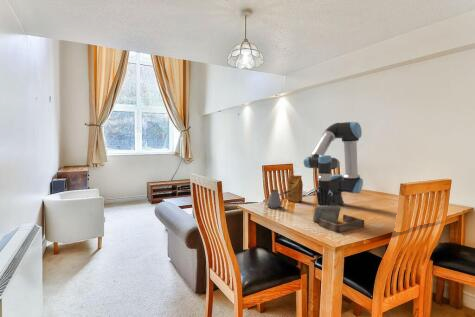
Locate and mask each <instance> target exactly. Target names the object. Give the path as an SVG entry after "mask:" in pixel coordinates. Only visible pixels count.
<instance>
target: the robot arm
mask: <svg viewBox="0 0 475 317" xmlns="http://www.w3.org/2000/svg"><path fill="white" fill-rule="evenodd" d="M362 132H363V131H362V126H361V124H360V123H359V122H357V121H346V122H335V123H333V124H331V125H329V126H328V127H327V128H326V129H325V130H324V131H323V133H322V136H321V139H320V140H319V142H318V144H316V147H315V148H314V150H312V153H311V154H310V156H306V157H305V158H304V159H303V166H304V167H305V168H307V169H317V172H318V175H317V179H318V180H317V185H318V188H317V189H315V190H314V191H315V193H316V200H317V206H344V204H345V203H344V199H343V195H342V194H343V193H350V194H360V193H361V192H362V189H363V186H364V179H363V178H361V175H360V174H359V173H358V172H359V171H358V149H357V148H358V146H357V143H358V142H359V140H360V139H361V137H362ZM336 139H341V142H343V148H344V149H343V150H344V170H345V171H344V174H343V175H342V174H332V170H336V169H338V167H340V160H339V159H338V158H336V157H332V156H331V155H327V154H326V152H327V151H328V148H329V147H330V146H331V144H332V142H334V141H335V140H336ZM342 192H343V193H342Z"/></svg>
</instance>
